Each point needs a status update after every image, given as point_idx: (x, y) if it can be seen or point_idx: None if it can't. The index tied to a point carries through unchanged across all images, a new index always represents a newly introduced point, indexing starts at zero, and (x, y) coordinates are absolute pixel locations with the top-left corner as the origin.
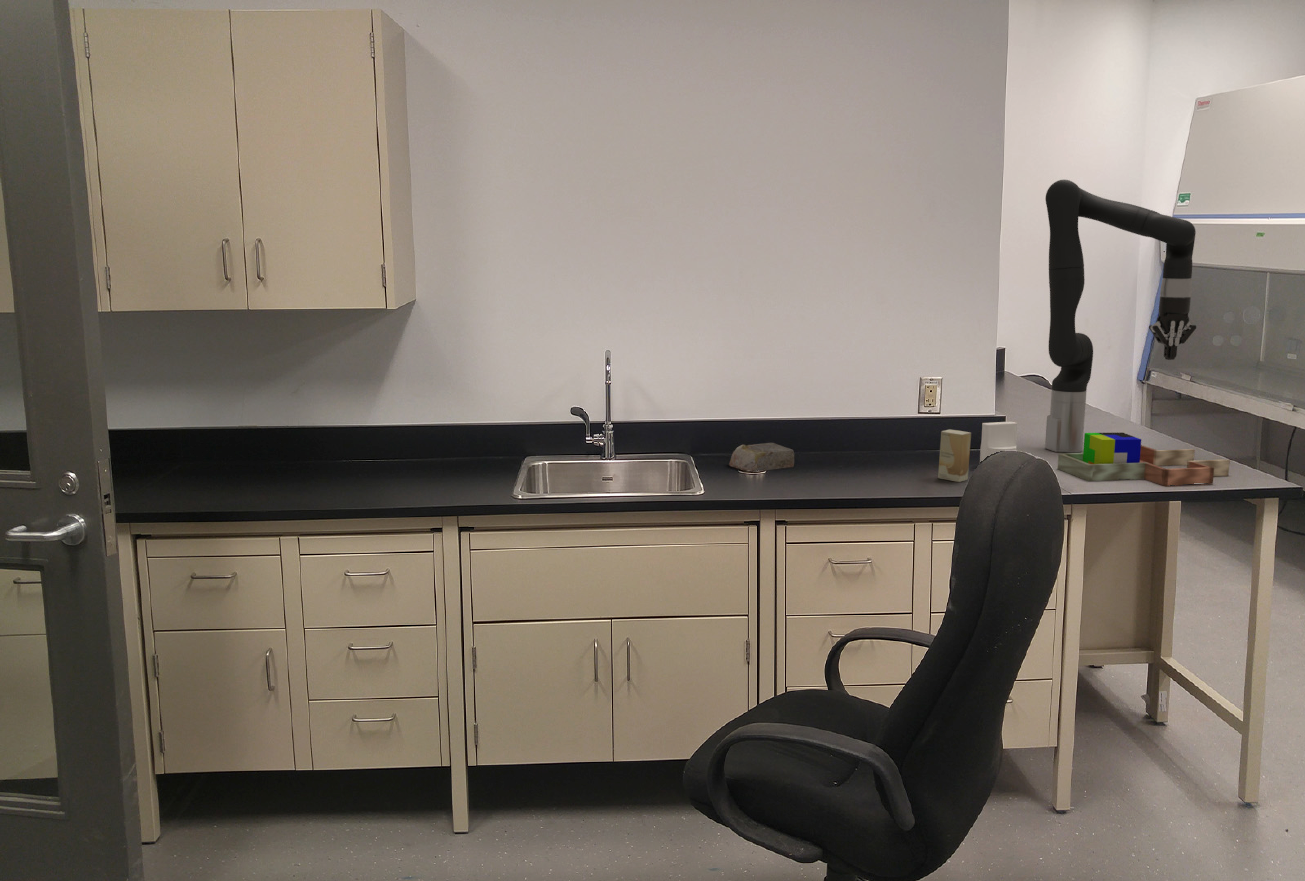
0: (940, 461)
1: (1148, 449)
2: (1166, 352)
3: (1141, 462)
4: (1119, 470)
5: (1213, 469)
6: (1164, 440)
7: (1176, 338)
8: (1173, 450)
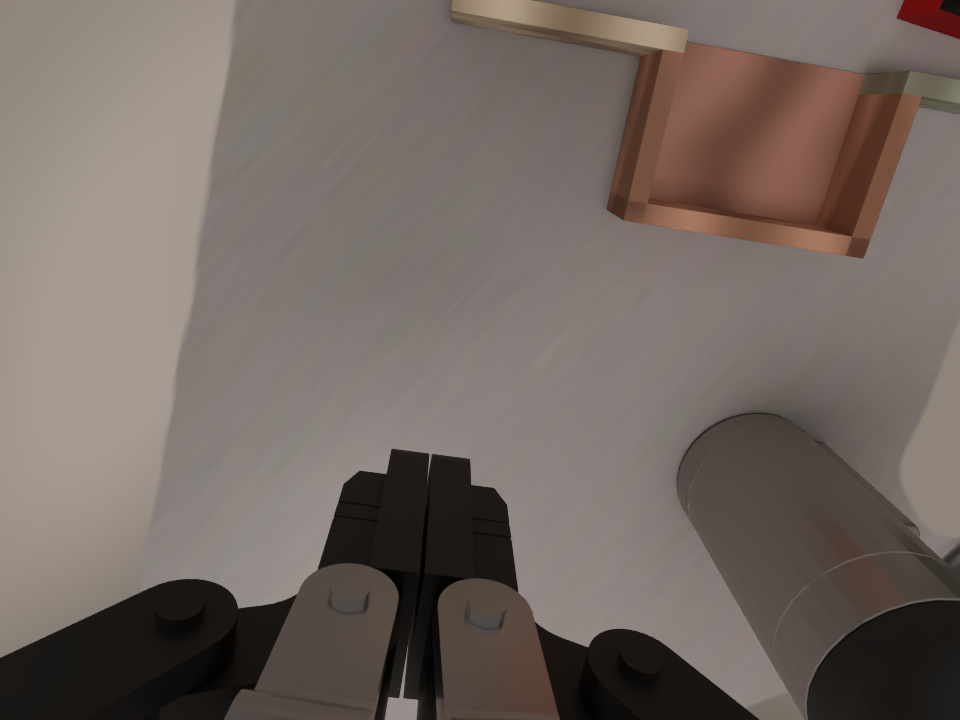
0: None
1: (669, 109)
2: (507, 548)
3: (680, 115)
4: None
5: None
6: (174, 529)
7: (349, 692)
8: (585, 11)
